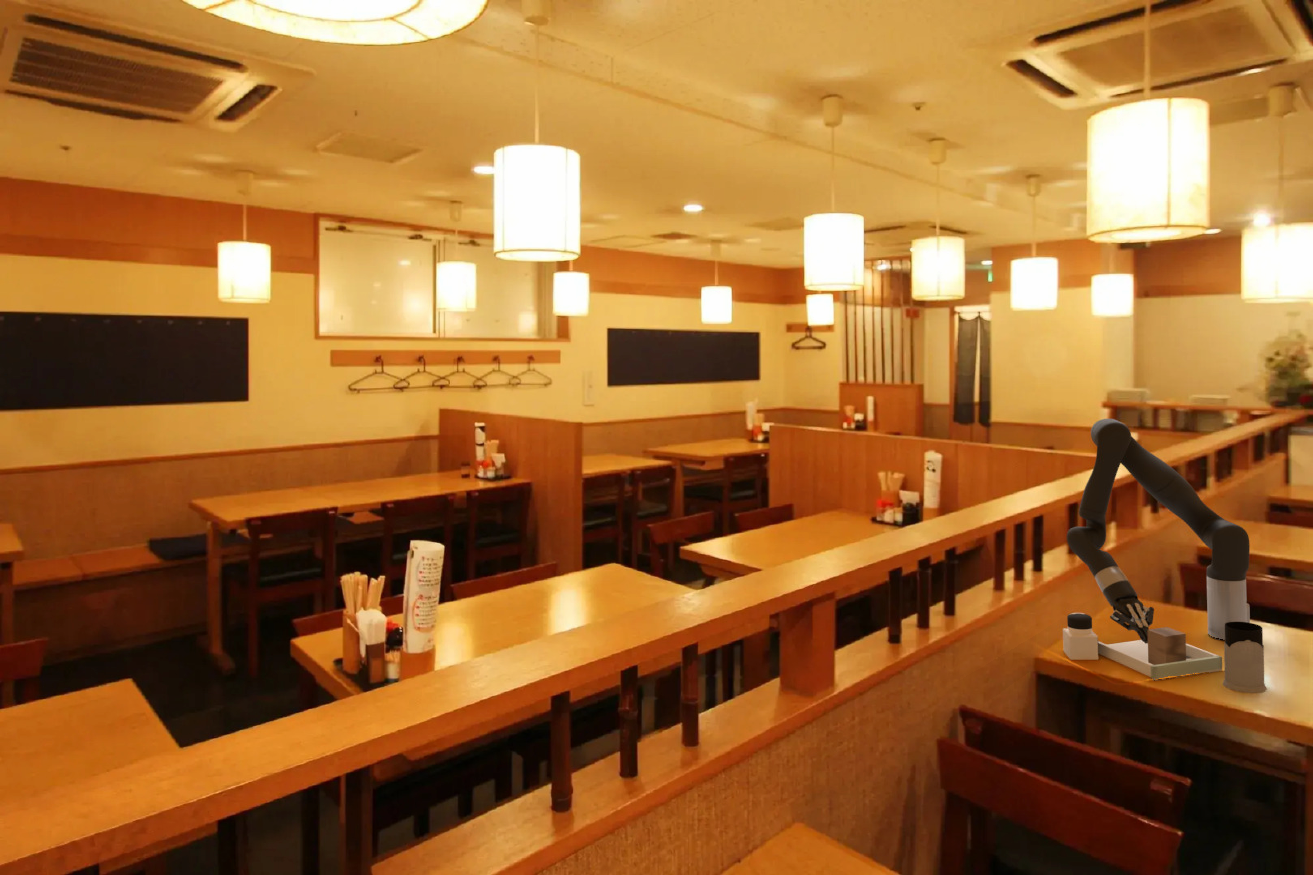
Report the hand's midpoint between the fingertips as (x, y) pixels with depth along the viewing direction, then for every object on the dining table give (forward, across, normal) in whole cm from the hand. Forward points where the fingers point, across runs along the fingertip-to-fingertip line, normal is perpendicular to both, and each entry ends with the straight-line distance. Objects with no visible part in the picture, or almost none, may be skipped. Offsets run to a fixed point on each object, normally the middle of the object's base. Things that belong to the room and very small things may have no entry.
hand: (1149, 641), depth 220 cm
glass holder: (+18, +8, -11) cm, 22 cm away
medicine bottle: (-2, -15, +9) cm, 18 cm away
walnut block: (+7, 0, -1) cm, 8 cm away
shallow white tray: (+4, 0, +3) cm, 5 cm away
